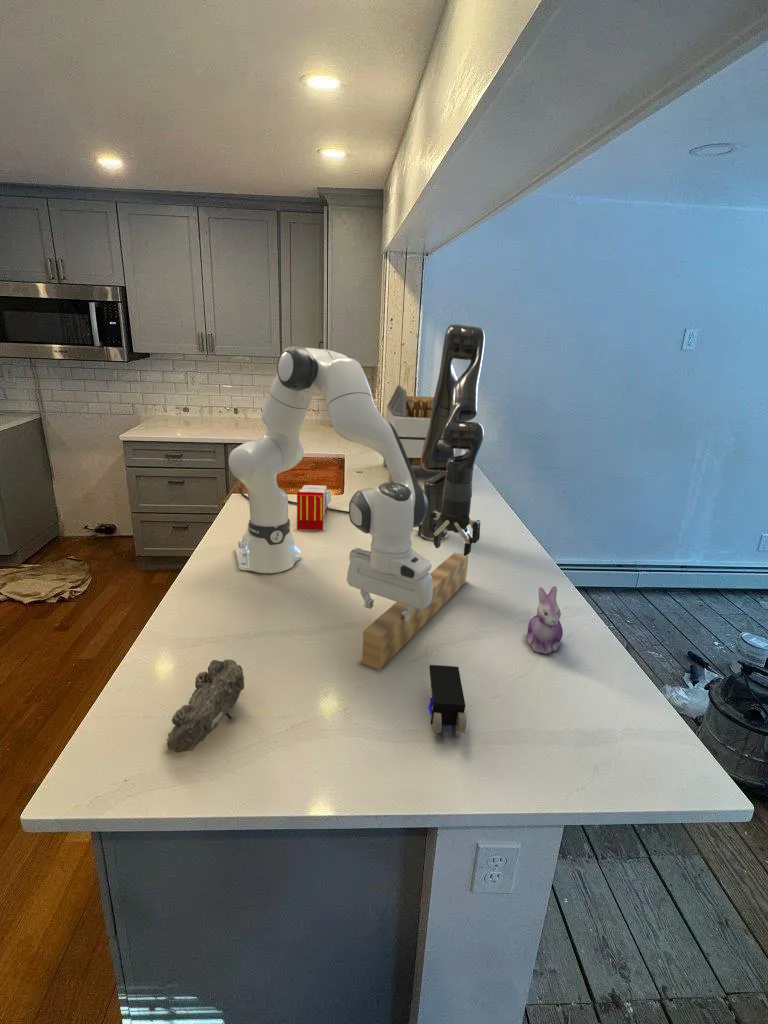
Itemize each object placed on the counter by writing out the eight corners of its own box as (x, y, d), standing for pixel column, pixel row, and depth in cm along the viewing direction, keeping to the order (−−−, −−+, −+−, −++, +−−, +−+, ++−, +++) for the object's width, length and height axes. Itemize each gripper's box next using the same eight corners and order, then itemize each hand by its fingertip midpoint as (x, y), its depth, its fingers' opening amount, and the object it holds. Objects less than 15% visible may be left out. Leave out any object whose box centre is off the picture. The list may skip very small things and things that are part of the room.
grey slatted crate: (382, 463, 289) (386, 382, 275) (445, 464, 293) (451, 384, 279) (390, 482, 257) (394, 392, 243) (460, 483, 261) (468, 394, 247)
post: (452, 578, 168) (454, 552, 166) (465, 582, 166) (468, 555, 164) (362, 663, 126) (363, 630, 124) (379, 670, 124) (380, 636, 122)
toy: (332, 480, 224) (326, 494, 194) (331, 513, 226) (326, 531, 197) (301, 479, 223) (291, 493, 194) (301, 513, 226) (291, 531, 197)
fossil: (192, 660, 117) (244, 628, 112) (224, 691, 120) (276, 661, 115) (142, 746, 98) (202, 712, 93) (182, 779, 101) (242, 748, 96)
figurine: (544, 659, 130) (553, 602, 125) (515, 637, 139) (522, 582, 134) (574, 650, 135) (584, 594, 130) (544, 629, 143) (552, 575, 138)
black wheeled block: (466, 750, 104) (456, 690, 118) (471, 720, 101) (459, 662, 115) (430, 749, 104) (423, 690, 118) (433, 719, 101) (426, 661, 114)
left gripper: (342, 550, 125) (340, 605, 130) (425, 575, 116) (420, 633, 121) (357, 541, 130) (355, 594, 135) (438, 564, 121) (432, 620, 126)
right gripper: (427, 494, 151) (422, 549, 157) (477, 505, 145) (470, 562, 151) (438, 487, 158) (434, 540, 163) (487, 497, 151) (480, 552, 157)
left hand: (386, 613), depth 128 cm, fingers open, 8 cm apart
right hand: (451, 551), depth 157 cm, fingers open, 8 cm apart
